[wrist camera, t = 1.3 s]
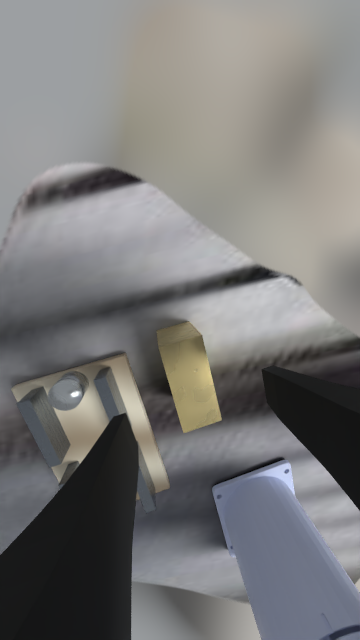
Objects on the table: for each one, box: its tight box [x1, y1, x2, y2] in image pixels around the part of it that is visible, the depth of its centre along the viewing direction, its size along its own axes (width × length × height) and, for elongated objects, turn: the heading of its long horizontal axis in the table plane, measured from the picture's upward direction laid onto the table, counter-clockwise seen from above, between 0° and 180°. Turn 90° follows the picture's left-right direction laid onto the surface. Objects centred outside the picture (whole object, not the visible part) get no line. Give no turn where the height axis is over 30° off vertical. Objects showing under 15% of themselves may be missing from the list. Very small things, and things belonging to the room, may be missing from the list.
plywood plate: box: [11, 353, 170, 500], centre depth 15 cm, size 13×8×1 cm, turn 14°
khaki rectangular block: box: [157, 321, 222, 433], centre depth 14 cm, size 6×3×4 cm, turn 14°
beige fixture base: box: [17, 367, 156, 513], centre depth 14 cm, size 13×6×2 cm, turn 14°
